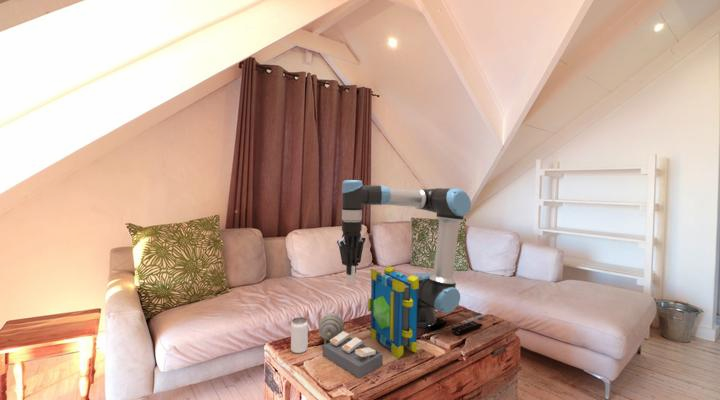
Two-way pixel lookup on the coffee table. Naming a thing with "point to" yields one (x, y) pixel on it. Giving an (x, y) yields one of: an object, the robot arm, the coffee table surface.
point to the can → (299, 335)
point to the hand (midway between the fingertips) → (351, 282)
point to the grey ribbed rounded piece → (330, 326)
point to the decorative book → (394, 310)
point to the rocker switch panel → (352, 358)
